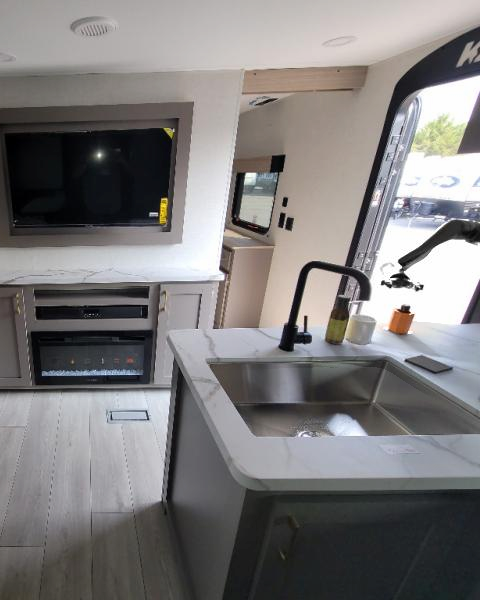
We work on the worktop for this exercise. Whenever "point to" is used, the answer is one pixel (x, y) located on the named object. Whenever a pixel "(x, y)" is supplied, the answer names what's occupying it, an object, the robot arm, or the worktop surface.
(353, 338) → the mug
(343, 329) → the sauce bottle
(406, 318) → the orange spice jar
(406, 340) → the worktop surface
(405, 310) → the stand
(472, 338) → the worktop surface
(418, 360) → the mat
